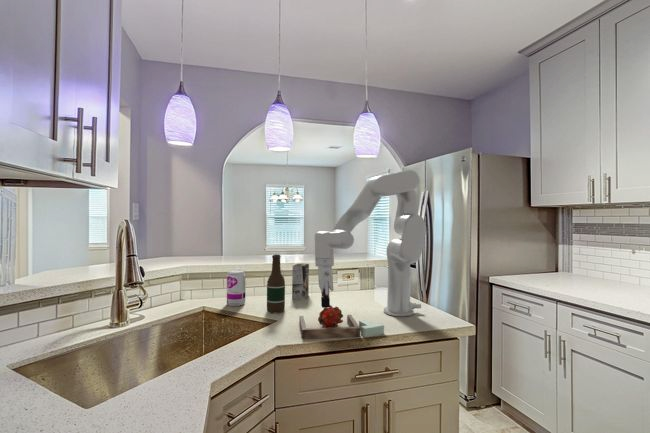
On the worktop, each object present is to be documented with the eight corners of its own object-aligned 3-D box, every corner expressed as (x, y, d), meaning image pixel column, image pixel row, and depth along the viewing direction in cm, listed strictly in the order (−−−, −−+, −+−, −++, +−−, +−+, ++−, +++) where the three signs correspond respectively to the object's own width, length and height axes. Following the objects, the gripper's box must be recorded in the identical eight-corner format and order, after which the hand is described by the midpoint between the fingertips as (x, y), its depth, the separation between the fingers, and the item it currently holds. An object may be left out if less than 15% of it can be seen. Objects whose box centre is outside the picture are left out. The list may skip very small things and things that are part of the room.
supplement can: (235, 307, 155) (236, 273, 155) (222, 304, 160) (223, 271, 159) (249, 303, 162) (249, 270, 162) (236, 300, 166) (236, 269, 166)
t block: (370, 326, 132) (371, 319, 132) (383, 333, 125) (384, 325, 125) (352, 330, 129) (352, 321, 129) (365, 337, 122) (365, 328, 121)
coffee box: (304, 299, 171) (304, 266, 170) (291, 298, 172) (292, 265, 172) (309, 295, 180) (309, 263, 179) (296, 294, 181) (297, 262, 180)
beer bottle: (288, 309, 153) (288, 254, 153) (278, 314, 146) (279, 256, 146) (273, 307, 156) (273, 253, 156) (262, 311, 149) (263, 255, 149)
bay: (350, 322, 137) (351, 314, 137) (360, 336, 122) (360, 328, 122) (299, 323, 135) (299, 315, 135) (302, 338, 119) (302, 329, 119)
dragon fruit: (342, 327, 136) (322, 340, 127) (327, 311, 139) (307, 323, 130) (351, 313, 132) (332, 325, 123) (336, 297, 135) (316, 308, 126)
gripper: (336, 264, 136) (337, 311, 136) (330, 258, 151) (331, 301, 151) (317, 265, 135) (318, 313, 135) (313, 259, 150) (314, 302, 150)
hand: (325, 306), depth 143 cm, fingers closed
